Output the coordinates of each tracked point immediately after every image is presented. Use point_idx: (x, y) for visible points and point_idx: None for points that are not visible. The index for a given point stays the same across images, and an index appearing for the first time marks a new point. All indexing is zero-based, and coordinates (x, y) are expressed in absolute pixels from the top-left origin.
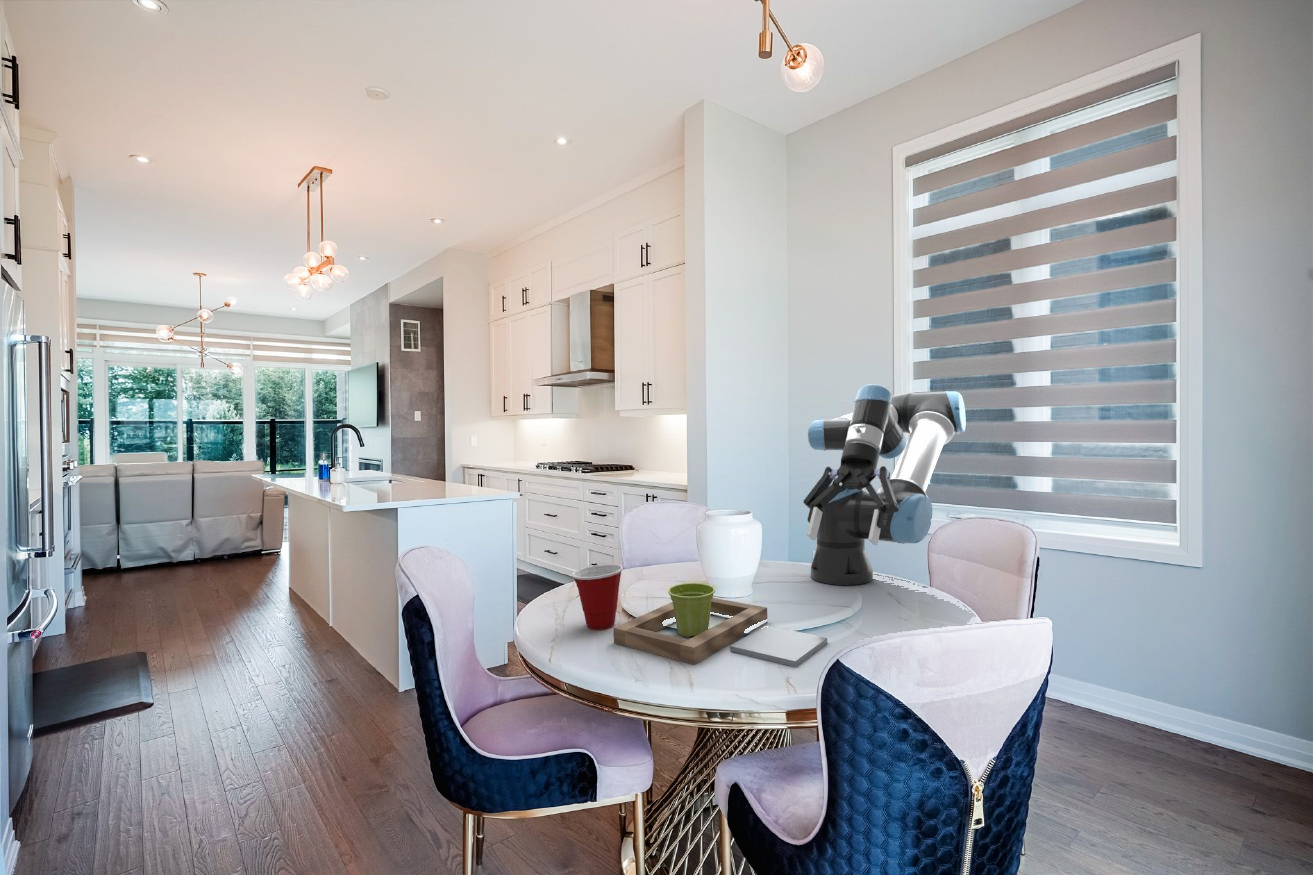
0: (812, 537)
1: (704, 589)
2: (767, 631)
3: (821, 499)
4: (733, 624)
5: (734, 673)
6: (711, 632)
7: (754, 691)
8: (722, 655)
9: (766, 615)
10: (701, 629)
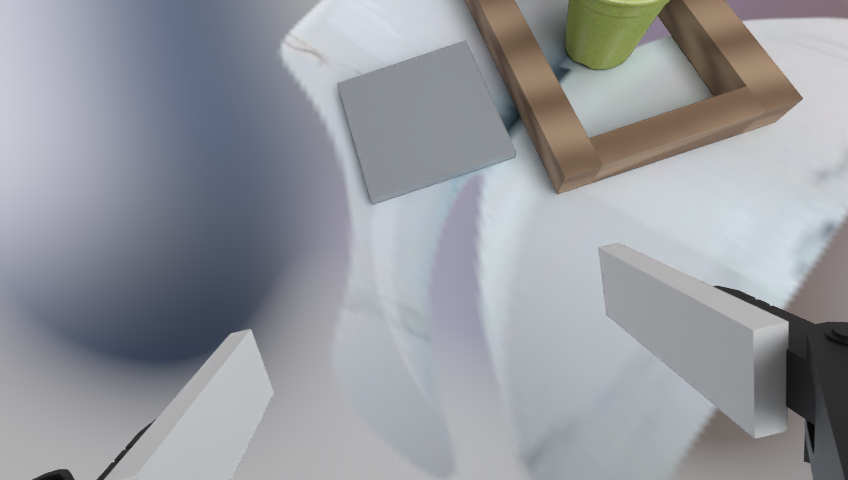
0: (602, 279)
1: (650, 6)
2: (480, 131)
3: (825, 402)
4: (511, 56)
5: (389, 12)
6: (499, 6)
7: (325, 4)
8: (459, 31)
9: (559, 182)
10: (566, 33)
